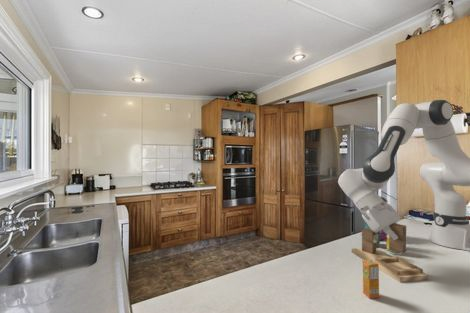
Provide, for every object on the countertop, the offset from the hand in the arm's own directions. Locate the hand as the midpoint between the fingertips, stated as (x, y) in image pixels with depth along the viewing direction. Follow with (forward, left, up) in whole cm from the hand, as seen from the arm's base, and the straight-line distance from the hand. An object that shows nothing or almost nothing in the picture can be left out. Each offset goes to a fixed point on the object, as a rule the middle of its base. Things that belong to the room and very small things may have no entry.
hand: (399, 237), depth 83 cm
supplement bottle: (-12, -15, -13) cm, 23 cm away
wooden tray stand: (0, -6, -12) cm, 14 cm away
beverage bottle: (-9, -24, -13) cm, 29 cm away
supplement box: (+21, +11, -13) cm, 27 cm away
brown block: (0, -1, -5) cm, 5 cm away
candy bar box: (-20, -32, -13) cm, 40 cm away
